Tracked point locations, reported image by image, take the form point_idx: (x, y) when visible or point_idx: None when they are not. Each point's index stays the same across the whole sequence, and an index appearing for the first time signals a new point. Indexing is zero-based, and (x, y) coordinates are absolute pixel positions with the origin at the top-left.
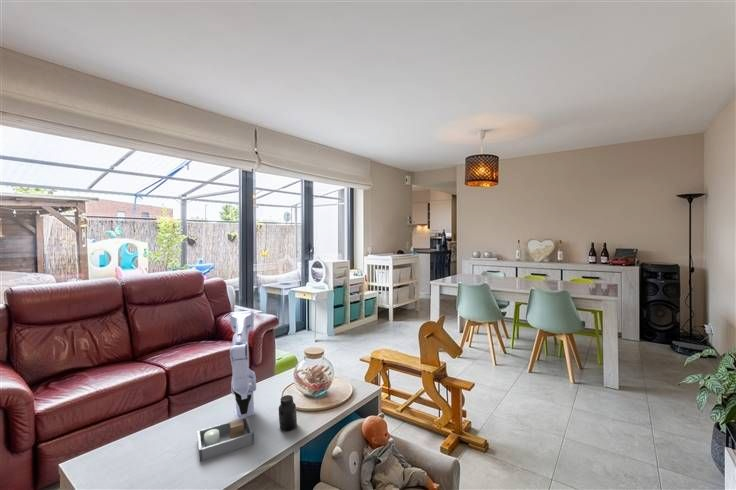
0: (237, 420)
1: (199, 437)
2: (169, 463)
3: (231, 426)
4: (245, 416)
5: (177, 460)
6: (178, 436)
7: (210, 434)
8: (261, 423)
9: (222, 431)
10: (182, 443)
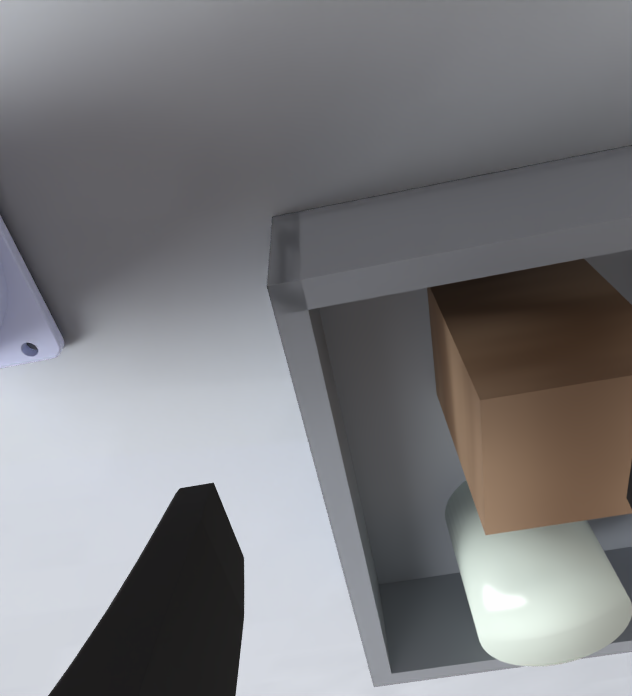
0: (509, 453)
1: (502, 663)
2: (526, 666)
3: (628, 506)
4: (12, 262)
5: None
6: None
7: (574, 630)
8: (227, 10)
9: (353, 482)
10: (328, 652)
